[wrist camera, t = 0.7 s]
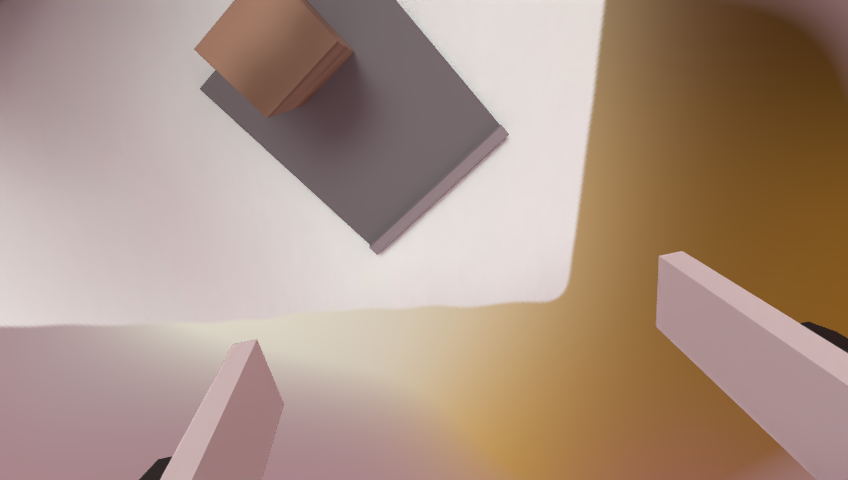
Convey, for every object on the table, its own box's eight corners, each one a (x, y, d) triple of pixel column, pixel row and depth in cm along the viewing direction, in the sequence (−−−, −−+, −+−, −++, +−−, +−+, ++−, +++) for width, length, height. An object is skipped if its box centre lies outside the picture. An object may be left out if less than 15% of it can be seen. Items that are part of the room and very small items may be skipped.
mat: (201, 88, 34) (195, 89, 33) (337, -70, 31) (335, -75, 30) (377, 249, 40) (377, 254, 39) (505, 132, 37) (508, 134, 36)
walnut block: (255, 57, 33) (193, 49, 23) (306, -1, 32) (265, -38, 22) (303, 105, 35) (266, 118, 24) (354, 51, 33) (337, 41, 23)
